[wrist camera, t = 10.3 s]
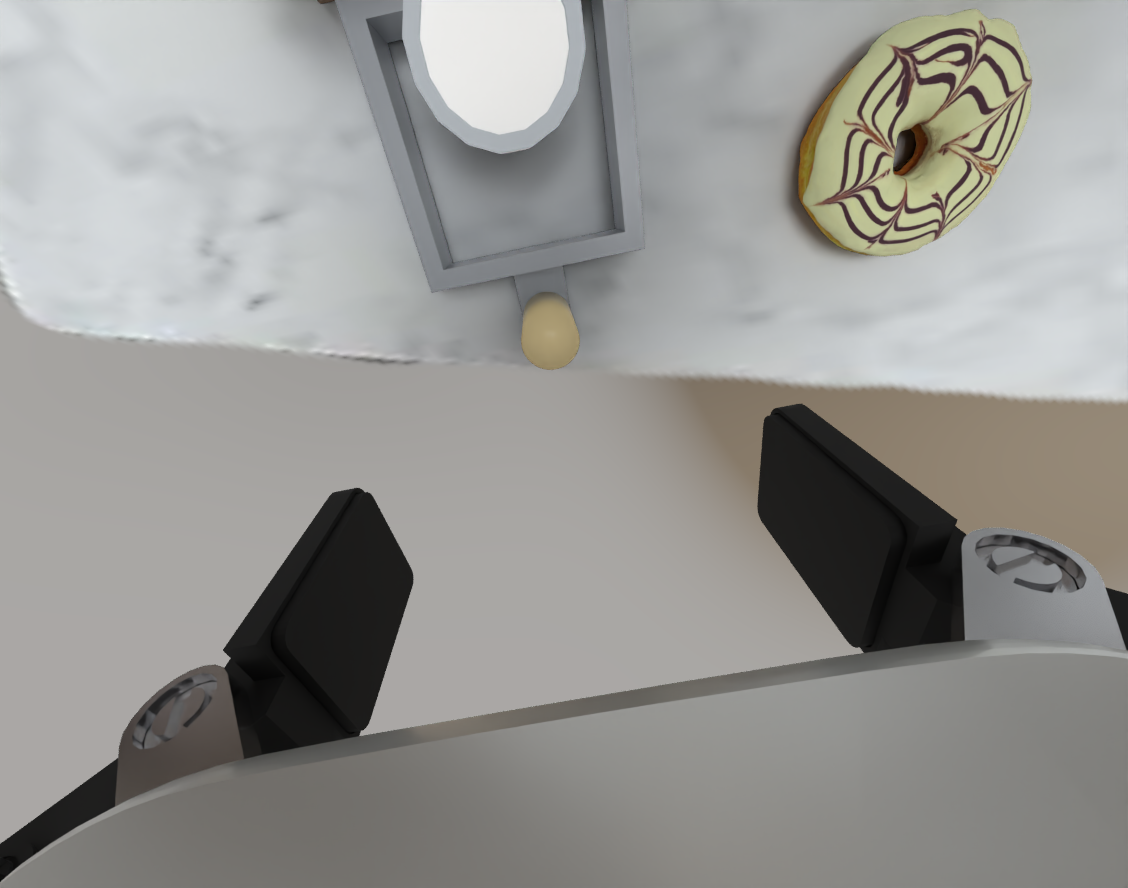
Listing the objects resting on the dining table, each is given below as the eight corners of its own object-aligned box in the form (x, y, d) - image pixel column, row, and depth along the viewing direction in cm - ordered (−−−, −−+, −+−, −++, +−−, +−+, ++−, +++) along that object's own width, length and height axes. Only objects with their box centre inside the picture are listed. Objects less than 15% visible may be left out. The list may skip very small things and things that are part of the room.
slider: (305, -147, 17) (194, -319, 11) (593, -219, 17) (623, -433, 11) (466, 360, 28) (449, 399, 22) (640, 325, 28) (668, 356, 22)
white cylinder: (422, 127, 22) (381, 99, 16) (461, -41, 19) (428, -154, 13) (541, 189, 24) (544, 184, 18) (593, 44, 21) (618, -21, 15)
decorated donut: (848, 1, 21) (907, -37, 18) (1018, 64, 23) (1100, 40, 19) (759, 228, 26) (792, 232, 23) (904, 266, 28) (954, 274, 24)
